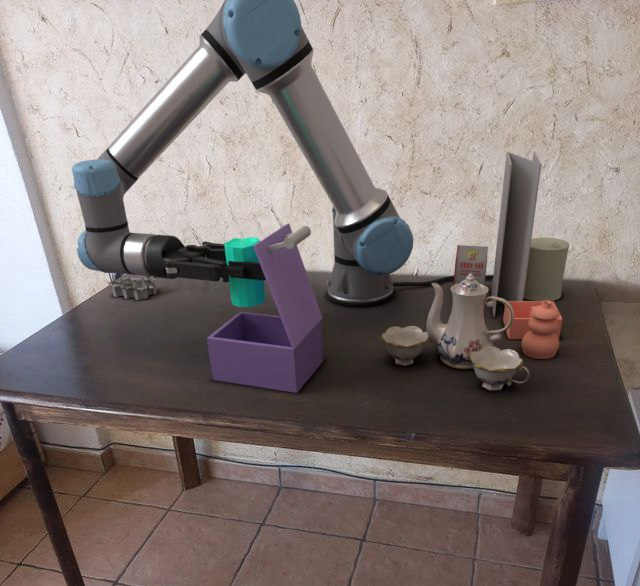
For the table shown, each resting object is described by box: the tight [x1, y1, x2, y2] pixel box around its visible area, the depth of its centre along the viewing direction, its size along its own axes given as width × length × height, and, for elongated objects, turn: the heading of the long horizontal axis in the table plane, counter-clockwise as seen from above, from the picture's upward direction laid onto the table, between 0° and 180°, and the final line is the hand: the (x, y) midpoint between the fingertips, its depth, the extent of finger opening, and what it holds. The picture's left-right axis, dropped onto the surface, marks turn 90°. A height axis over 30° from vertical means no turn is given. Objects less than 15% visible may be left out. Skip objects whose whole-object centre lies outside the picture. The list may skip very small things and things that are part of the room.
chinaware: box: [379, 273, 530, 391], centre depth 108 cm, size 28×17×17 cm, turn 58°
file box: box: [206, 311, 324, 394], centre depth 112 cm, size 17×13×8 cm
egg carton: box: [107, 276, 158, 301], centre depth 150 cm, size 11×8×4 cm
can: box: [523, 237, 570, 302], centre depth 136 cm, size 9×9×12 cm
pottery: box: [502, 300, 563, 360], centre depth 117 cm, size 18×10×10 cm, turn 173°
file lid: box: [253, 223, 323, 348], centre depth 102 cm, size 17×13×5 cm
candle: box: [223, 232, 267, 308], centre depth 106 cm, size 6×6×12 cm
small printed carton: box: [452, 244, 489, 286], centre depth 142 cm, size 4×7×10 cm, turn 71°
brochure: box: [490, 150, 543, 318], centre depth 127 cm, size 14×6×30 cm, turn 168°
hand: (272, 266), depth 104 cm, fingers closed on candle, 5 cm apart
